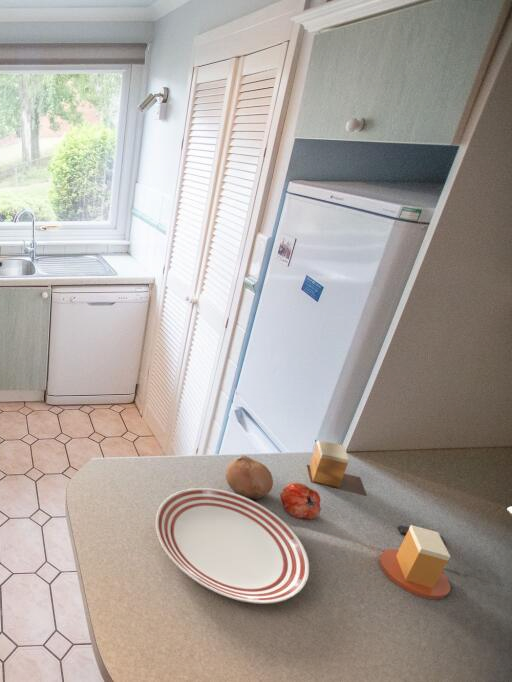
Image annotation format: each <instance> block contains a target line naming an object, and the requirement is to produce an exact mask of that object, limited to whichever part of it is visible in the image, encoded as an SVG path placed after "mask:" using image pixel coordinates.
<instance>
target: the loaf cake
mask: <svg viewBox="0 0 512 682" xmlns="http://www.w3.org/2000/svg"><path fill="white" fill-rule="evenodd" d="M349 463H350V458H349V455H348V453H347V451H346V448H345V445H344V444H339V443H335V442H329V441H325V440H321V439H318V440H317V442H316V444H315V448H314V451H313V454H312V457H311V459H310V463H309V464H306V469H307V473H308V477H309V482H310V483H311V484H316V485H320V486H324V487H328V488H333V489H337V490H341V491H345V492H348V493H352V494H356V495H360V496H365V497H367V496H368V495H367V493H366V489H365V487H364V484H363V481H362V479H361V477H360V476H356V475H352V474H348V473H346V470H347V467H348V465H349Z"/></svg>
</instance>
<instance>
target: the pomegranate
mask: <svg viewBox="0 0 512 682" xmlns="http://www.w3.org/2000/svg"><path fill="white" fill-rule="evenodd" d="M279 496H280V497H279V499H280V502H281V503H282V506H283V507H282V508H283V510H284V511H285V512H286V513H287V514H289V515H290V516H292V517H294V518H296V519H304V520H305V519H306V520H313V519H315V518H317V517H318V516H319V515H320V513H321V510H322V509H321V497H320V494H319V492H318V491H316V490H315V489H313V488H311V487H309V486H307V485H306V484H304V483H300V482H291V483H289V484H287V485H285V486H284V487H283V489H282V491H281V492H280V494H279Z"/></svg>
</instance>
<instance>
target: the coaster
mask: <svg viewBox="0 0 512 682" xmlns="http://www.w3.org/2000/svg"><path fill="white" fill-rule="evenodd" d="M398 551H399V549H395V548H394V549H393V548H391V549H387V550H384V551H383V552H382V553H381V554H380V556H379V559H378V564H379V567H380V569H381V571H382V573H384V575H385V576H386V577H387V578H388V579H389V580H390V581H391V582H392V583H394V584H395V585H397V586H398V587H399V588H401V589H403V590H405V591H406V592H408V593H410V594H412V595H415V596H417V597H420V598H425V599H427V600H442V599H445V598H446V597H447V596H448V595H449V592H451V583H450V581H449V579H448V577H447V576H446V575H445V574H444V573H443V572H442V573H441V575H440V577H439V579H438V580H437V582H436V584H435V586H434V588H429V587H426V586H423V585H419V584H416V583H413V582H410V581H406V580H405V578H404V575H403V573H402V570H401V567H400V565H399V562H398V559H397V557H396V555H397V553H398Z"/></svg>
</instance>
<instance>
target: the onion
mask: <svg viewBox="0 0 512 682" xmlns="http://www.w3.org/2000/svg"><path fill="white" fill-rule="evenodd" d="M225 479H226V483H227V485H228V487H229V488H230V489H231V490H232V491H233V493H235V494H238V495H240V496H243V497H245V498H248V499H250V500H252V501H255V500H260V499H261V498H262V497H264V496H266V495H267V494H269V493H270V491H271V490H272V488H273V485H274V478H273V475H272V473H271V471H270V470H269V469H268V468H267V466H266V465H265V464H263V463H262V462H260V461H258V460H255V459H253V458H251V457H249V456H247V455H245V454H243V455H241V456H240V458H237V459H235V460H232V462H230V464H228V466H227V468H226V470H225Z"/></svg>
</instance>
